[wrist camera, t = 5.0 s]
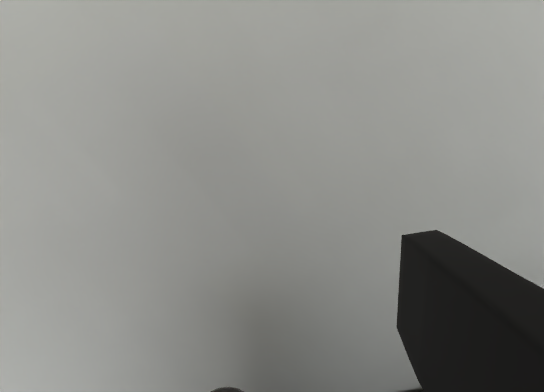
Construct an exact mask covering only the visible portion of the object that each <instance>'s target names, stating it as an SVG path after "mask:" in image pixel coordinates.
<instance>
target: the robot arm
mask: <svg viewBox="0 0 544 392" xmlns="http://www.w3.org/2000/svg"><path fill="white" fill-rule="evenodd" d="M397 329H398V332H399V334H400V337H401V339H402V342H403V345H404V347H405V350H406V352H407V355H408V357H409V360H410V362H411V364H412V367H413V369H414V372H415V374H416V376H417V379H418V381H419V383H420V385H421V386H422V388H423V390H424V392H544V289H543V288H541V287H539V286H537V285H535V284H534V283H532V282H530V281H528V280H526V279H525V278H523V277H521V276H519V275H517V274H516V273H514V272H512V271H510V270H508V269H507V268H505V267H503V266H501V265H500V264H498V263H496V262H494V261H493V260H491V259H489V258H487V257H486V256H484V255H482V254H480V253H479V252H477V251H475V250H473V249H471V248H470V247H468V246H466V245H464V244H462V243H461V242H459V241H457V240H455V239H453V238H451V237H450V236H448V235H446V234H444V233H442V232H440V231H437V230H433V231H426V232H420V233H414V234H407V235H402V242H401V260H400V278H399V295H398V313H397Z"/></svg>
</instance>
